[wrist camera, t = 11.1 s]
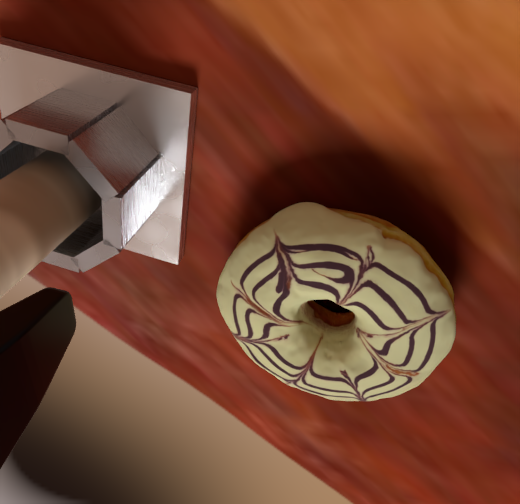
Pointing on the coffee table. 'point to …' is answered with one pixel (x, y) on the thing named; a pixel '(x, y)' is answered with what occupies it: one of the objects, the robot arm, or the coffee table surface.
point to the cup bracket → (103, 147)
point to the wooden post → (40, 212)
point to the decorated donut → (342, 293)
